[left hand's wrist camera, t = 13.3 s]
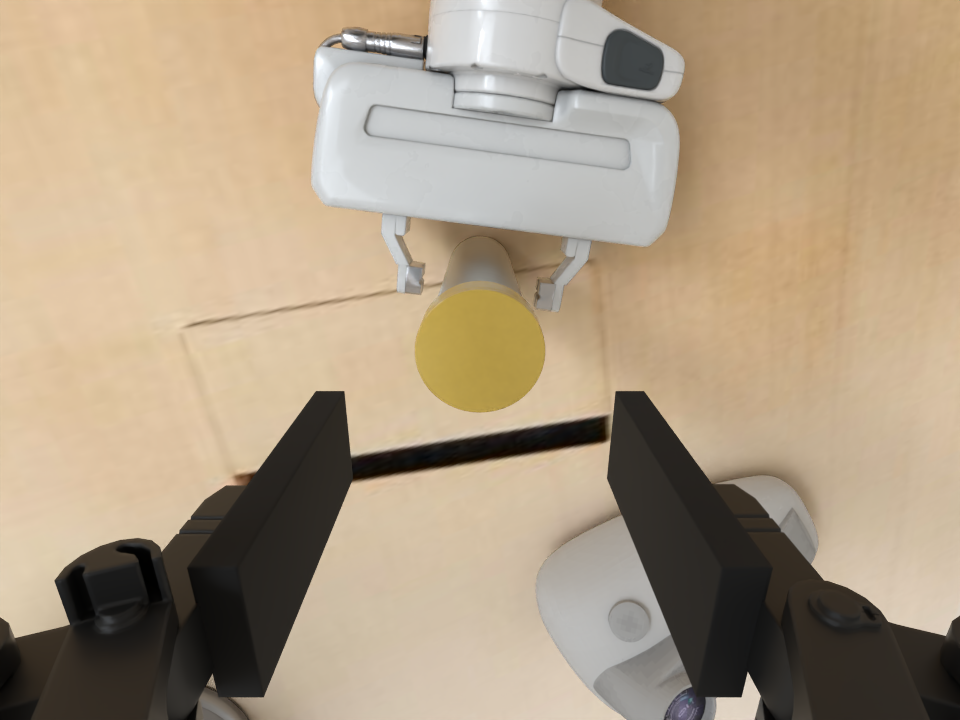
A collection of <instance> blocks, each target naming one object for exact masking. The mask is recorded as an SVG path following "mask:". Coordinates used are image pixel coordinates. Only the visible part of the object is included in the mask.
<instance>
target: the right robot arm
mask: <svg viewBox="0 0 960 720" xmlns="http://www.w3.org/2000/svg"><path fill="white" fill-rule="evenodd" d="M602 2H603V0H430V12H429V25H428V35H427V36H426V37H425V36H424V37H423V36H418V35H408V34H401V33H387V34H386V33H379V32H377V33H376V32H372V31H368V29H365V28H360V27H345V28H343V29H342V32H341V34H336V35H332V36H330V37H328V38H327V39H326V40H324V41H323V42H322V43H321V44H320V46H319V47H318V49H317V51H316V54H315V57H314V72H313V91H314V96H315V100H316V102H317V104H318V106H319V108H320V109H319V114H318V120H317V126H316V132H315V139H314V148H313V157H312V171H311V184H312V188H313V190H314V191H315V193H316V194H317V196H318V197H319V199H320V200H321V201H322V203H323V204H324V205H326V206H330V207H337V208H345V209H352V210H360V211H368V212H376V213H383V214H382V231H381V234H382V236H383V238H384V240H385V242H386V244H387V246H388V248H389V250H390V252H391V254H392V256H393V258H394V260H395V262H396V264H398V278H397V292H398V293H404V294H405V293H406V294H416V295H421V293H422V291H423V286H424V279H423V278H422V277H423V275H424V274H425V263H423V262H416V261H413V260H412V257H411V255H410V253H409V251H408V248H407V246H406V244H405V242H404V239H403V237H402V236H404V235H405V234H406V233H407V232H408V231H409V230H410V221H411V217H414V218H422V219H430V220H438V221H446V222H453V223H461V224H469V225H477V226H484V227H492V228H500V229H508V230H515V231H523V232H531V233H539V234H546V235H554V236H562V243H561V249H560V250H561V251H562V252H563V253H564V254H565V255H566V256H567V257H566V258H565V259H564V260H563V262H562V263H561V264H560V265H559V267H558V268H557V269H556V271H555V272H554V273H553V274H552V276H551V277H550V278H543V277H537V283H536V289H537V292H536V293H535V295H534V307H535V309H537V310H544V311H552V312H558V311H559V309H560V305H561V300H562V294H563V289H564V285H567V284H568V283H569V282H570V280H571V279H572V278H573V277H574V276H575V275H576V273H577V272H578V271H579V270H580V269H581V268H582V266H583V265H584V264H585V263H586V262H587V260H588V257H589V252H590V247H591V242H592V240H593V241H601V242H608V243H616V244H624V245H632V246H640V247H648V246H650V245H651V244H652V243H654V242H655V241H656V240H657V239H658V238H659V237H660V236H661V235H662V234H663V233H664V232H665V230H666V227H667V224H668V220H669V217H670V212H671V208H672V202H673V197H674V191H675V185H676V178H677V171H678V161H679V151H680V135H679V128H678V125H677V122H676V119H675V118H674V116H673V114H672V113H671V112H670V111H669V110H668V109H667V108H666V107H665V106H663V105H662V104H661V103H663V102H665V101H667V100H669V99H670V98H672V97H673V96H674V95H675V94H676V93H677V92H678V90H679V88H680V85H681V83H682V79H683V74H684V70H685V62H684V59H683V57H682V55H681V54H680V53H679V52H677V51H676V50H675V49H673V48H671V47H670V46H668V45H666V44H664V43H662V42H661V41H659V40H657V39H655V38H653V37H651V36H650V35H648V34H646V33H644V32H642V31H641V30H639V29H637V28H635V27H634V26H632V25H630V24H628V23H627V22H625V21H623V20H622V19H620V18H618V17H617V16H615V15H613V14H612V13H610V12H609V11H607V10H605V9H604V8H602ZM337 43H342V46H343V48H345V49H340V48H333V47H331V46H333V45H334V44H337ZM368 52H373V53H368ZM375 53H381V54H375ZM382 54H384V55H382ZM424 59H425V60H426V63H425V62H424ZM424 68H425V70H426V71H424Z"/></svg>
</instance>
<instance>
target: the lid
mask: <svg viewBox="0 0 960 720" xmlns="http://www.w3.org/2000/svg"><path fill="white" fill-rule="evenodd" d="M415 359H416V364H417V368H418V371H419V374H420V376H421V378H422V380H423V381H424V383H425V385H426V386H427V387H428V388H429V390H430V391H431V392H432V393H433V394H434V395H435V396H436V397H438V398H439V399H440V400H441V401H443V402H445V403H446V404H448V405H450V406H452V407H455V408H457V409H461V410H464V411H469V412H491V411H496V410H499V409H503V408H505V407H508V406H510V405H512V404H514V403H515V402H517V401H519V400H520V399H521V398H522V397H524V396H525V395H526V394H527V393H528V392H529V391H530V390H531V388H532V387H533V386H534V385H535V383H536V381H537V380H538V378H539V376H540V374H541V371H542V368H543V364H544V359H545V342H544V337H543V334H542V330H541V328H540V325H539V322H538V320H537V317H536V315H535V313H534V311H533V310H532V308H531V306H530V305H529V304H528V303H527V301H526V300H525V299H524V298H523V297H522V296H521V295H519V294H518V293H517V292H515V291H514V290H512V289H511V288H508V287H506V286H504V285H502V284H499V283H495V282H490V281H470V282H465V283H461V284H458V285H456V286H454V287H452V288H449V289H448V290H446V291H445V292H443V293H442V294H441V295H440V296H438V297H437V298H436V299H435V300H434V301H433V303H432V304H431V305H430V306H429V308H428V310H427V311H426V313H425V315H424V317H423V320H422V322H421V325H420V328H419V331H418V334H417V337H416V343H415Z"/></svg>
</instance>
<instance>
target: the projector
mask: <svg viewBox="0 0 960 720" xmlns="http://www.w3.org/2000/svg"><path fill="white" fill-rule="evenodd" d="M716 484H735V485H736V486H738V487H739V488H741V489H742V490H744V491H745V492H747V493H748V494H750V495H751V496H753V497H754V498H756V499H757V501H758V502H759V503H760V504H761V505H762V507H763V508H764V509H765V510H766V511H767V513H768V514H769V517H770V518H772V519H773V520H774V521H775V522H776V523H777V525H778V526H779V527H780V528H781V532H784V533H785V534H786V535H787V537H788V538H789V539H790V540H791V541H792V543H793V544H794V545H795V546H796V547H797V549H798V550H799V551H800V552H801V553H802V555H803V556H804V557H805V558H806V559H807V561H808V562H809V563H810V564H811V563H812V561H813V560H814V557H815V555H816V552H817V549H818V536H817V531H816V528H815V526H814V523H813V521H812V519H811V517H810V514H809V512H808V510H807V508H806V507H805V505H804V503H803V501H802V500H801V498H800V497H799V495H798V494H797V492H796V491H795V490H794V489H793V488H792V487H791V486H790V485H789V484H787V483H786V482H784V481H783V480H781V479H779V478H776V477H774V476H768V475H759V476H751V477H745V478H739V479H734V480H729V481H725V482H720V483H716ZM536 598H537V603H538V608H539V612H540V615H541V618H542V620H543V623H544V625H545V627H546V629H547V631H548V633H549V634H550V636H551V638H552V640H553V641H554V643H555V645H556V646H557V648H558V649H559V651H560V652H561V654H562V655H563V657H564V658H565V660H566V661H567V662H568V664H569V665H570V667H571V668H572V669H573V671H574V672H575V673H576V675H577V676H578V677H579V678H580V679H581V681H582V682H583V683H584V684H585V685H586V686H587V688H588V689H589V690H590V691H592V692H593V693H594V694H595V695H596V696H597V697H598V698H599V699H600V700H601V701H602V702H603V703H605V704H606V705H607V706H608V707H610V708H611V709H613V710H614V711H616V712H617V713H619V714H621V715H622V716H623V717H624V718H625V719H627V720H714V718H715V713H716V698H717V697H696V695H695V693H694V690H693V688H692V685H691V683H690V680H689V678H688V675H687V673H686V670H685V668H684V666H683V663H682V661H681V658H680V656H679V653H678V651H677V648H676V646H675V644H674V641H673V639H672V636H671V634H670V631H669V629H668V626H667V624H666V622H665V619H664V617H663V614H662V612H661V609H660V607H659V604H658V602H657V599H656V597H655V595H654V592H653V590H652V587H651V585H650V582H649V580H648V577H647V575H646V573H645V570H644V568H643V565H642V563H641V560H640V558H639V555H638V553H637V550H636V548H635V546H634V543H633V541H632V538H631V536H630V533H629V531H628V528H627V526H626V524H625V521H624V519H623V516H622V515H620V516H618V517H615V518H613V519H611V520H609V521H607V522H604V523H602V524H600V525H598V526H596V527H594V528H592V529H590V530H588V531H586V532H584V533H582V534H581V535H579V536H577V537H575V538H573V539H572V540H570V541H568V542H567V543H565V544H564V545H562V546H561V547H559V548H558V549H557V550H556V551H554V552H553V553H552V554H551V555H550V556H549V557H548V558H547V559H546V560H545V562H544V563H543V565H542V566H541V568H540V570H539V572H538V575H537V580H536Z"/></svg>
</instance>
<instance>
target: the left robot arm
mask: <svg viewBox="0 0 960 720" xmlns="http://www.w3.org/2000/svg"><path fill="white" fill-rule="evenodd" d="M352 479H353V475H352V465H351V454H350V444H349V434H348V424H347V414H346V404H345V394H344V391H316V392H315V393H314V395H313V396H312V397H311V399H310V400H309V402H308V403H307V404H306V406H305V407H304V408H303V410H302V411H301V412H300V414H299V415H298V417H297V418H296V419H295V421H294V422H293V423H292V425H291V426H290V428H289V429H288V430H287V432H286V433H285V434H284V436H283V437H282V438H281V440H280V441H279V443H278V444H277V445H276V447H275V448H274V449H273V451H272V452H271V453H270V455H269V456H268V458H267V459H266V460H265V462H264V463H263V464H262V466H261V467H260V468H259V470H258V471H257V473H256V474H255V475H254V477H253V478H252V479H251V481H250V482H249V484H248V485H247V486H225V487H223V488H222V489H220V490H219V491H217V492H216V493H214V494H213V495H211V496H210V497H208V498H207V499H205V500H204V502H203V503H202V504H201V505H200V506H199V508H198V509H197V510H196V511H195V512H194V514H193V515H192V516H191V520H188V521H187V522H186V523H185V525H184V526H183V527H182V528H181V529H180V532H179V534H176V535H175V537H174V538H173V539H172V540H171V541H170V543H169V544H168V545H167V546H166V547H165V549H164V550H163V551H162V552H161V549H160V547H159V546H158V545H157V544H156V543H154V542H153V541H152V540H146V539H140V538H135V539H126V540H119V541H115V542H112V543H109V544H106V545H102V546H99V547H97V548H95V549H93V550H91V551H89V552H87V553H85V554H83V555H81V556H80V557H78V558H77V559H76V560H74V561H73V562H72V563H70V564H69V565H68V566H66V567H65V568H64V569H63V571H62V572H61V573H60V574H59V576H58V577H57V578H56V579H55V584H56V586H57V589H58V592H59V595H60V598H61V600H62V603H63V606H64V609H65V611H66V614H67V617H68V620H69V623H70V625H68V626H64V627H60V628H56V629H52V630H48V631H43V632H39V633H35V634H31V635H27V636H22V637H18V638H14V635H13V633H12V630H11V628H10V625H9V623H8V622H6V621H5V620H3V619H2V618H0V720H248V718H247V717H246V715H245V714H244V713H243V712H242V711H241V710H240V708H239V707H237V706H236V705H235V704H234V703H233V702H231V701H230V700H229V699H227V698H226V697H264V695H265V693H266V690H267V688H268V685H269V683H270V680H271V678H272V675H273V673H274V670H275V668H276V666H277V663H278V661H279V658H280V656H281V653H282V651H283V648H284V646H285V644H286V641H287V639H288V636H289V634H290V631H291V629H292V626H293V624H294V622H295V619H296V617H297V614H298V612H299V609H300V607H301V604H302V602H303V599H304V597H305V595H306V592H307V590H308V587H309V585H310V582H311V580H312V577H313V575H314V573H315V570H316V568H317V565H318V563H319V560H320V558H321V555H322V553H323V550H324V548H325V546H326V543H327V541H328V538H329V536H330V533H331V531H332V528H333V526H334V524H335V521H336V519H337V516H338V514H339V511H340V509H341V506H342V504H343V502H344V499H345V497H346V494H347V492H348V489H349V487H350V484H351V482H352ZM607 479H608V482H609V484H610V487H611V489H612V492H613V494H614V497H615V499H616V502H617V504H618V506H619V509H620V511H621V514H622V516H623V519H624V521H625V524H626V526H627V528H628V531H629V533H630V536H631V538H632V541H633V543H634V546H635V548H636V550H637V553H638V555H639V558H640V560H641V563H642V565H643V568H644V570H645V573H646V575H647V577H648V580H649V582H650V585H651V587H652V590H653V592H654V595H655V597H656V599H657V602H658V604H659V607H660V609H661V612H662V614H663V617H664V619H665V622H666V624H667V626H668V629H669V631H670V634H671V636H672V639H673V641H674V644H675V646H676V648H677V651H678V653H679V656H680V658H681V661H682V663H683V666H684V668H685V670H686V673H687V675H688V678H689V680H690V683H691V685H692V688H693V690H694V693H695V695H696V697H742V693H743V689H744V685H745V681H746V677H747V672H749V674H750V676H751V678H752V680H753V682H754V684H755V686H756V688H757V689H758V691H759V693H760V695H761V698H760V701H759V705H758V709H757V713H756V717H755V720H960V616H959V617H957V618H956V619H954V620H953V621H952V623H951V625H950V628H949V630H948V633H947V635H946V636H943V635H939V634H935V633H931V632H926V631H922V630H918V629H914V628H909V627H905V626H901V625H897V624H893V623H890V622H888V621H887V620H886V618H885V617H884V615H883V614H882V612H881V611H880V610H879V609H878V608H877V607H875V606H874V605H873V604H872V603H871V602H870V601H868V600H867V599H866V598H865V597H863V596H861V595H859V594H857V593H856V592H854V591H852V590H850V589H848V588H847V587H844V586H841V585H838V584H835V583H832V582H829V581H824V580H823V579H822V577H821V576H820V575H819V574H818V573H817V571H816V570H815V569H814V568H813V567H812V565H811V564H810V563H809V562H808V561H807V559H806V558H805V557H804V556H803V555H802V553H801V552H800V551H799V550H798V549H797V547H796V546H795V545H794V544H793V543H792V541H791V540H790V539H789V538H788V537H787V535H786V534H785V533H784V532H781V528H780V527H779V526H778V525H777V523H776V522H775V521H774V520H773V519H772V518H770V517H769V514H768V513H767V511H766V510H765V509H764V508H763V507H762V505H761V504H760V503H759V502H758V501H757V499H756V498H754V497H753V496H751V495H750V494H748V493H747V492H745V491H744V490H742V489H741V488H739V487H738V486H736V485H735V484H711V482H710V481H709V479H708V478H707V477H706V475H705V474H704V473H703V471H702V470H701V468H700V467H699V466H698V464H697V463H696V462H695V460H694V459H693V458H692V456H691V455H690V453H689V452H688V451H687V449H686V448H685V447H684V445H683V444H682V443H681V441H680V440H679V438H678V437H677V436H676V434H675V433H674V432H673V430H672V429H671V428H670V426H669V425H668V423H667V422H666V421H665V419H664V418H663V417H662V415H661V414H660V412H659V411H658V410H657V408H656V407H655V406H654V404H653V403H652V402H651V400H650V399H649V397H648V396H647V395H646V393H645V392H644V391H616V394H615V404H614V414H613V424H612V434H611V444H610V454H609V465H608V475H607ZM212 673H213V677H214V681H215V685H216V689H217V692H215V691H213V690H211V689H208V688H205V686H206V685H207V683H208V681H209V679H210V677H211V675H212Z"/></svg>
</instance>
